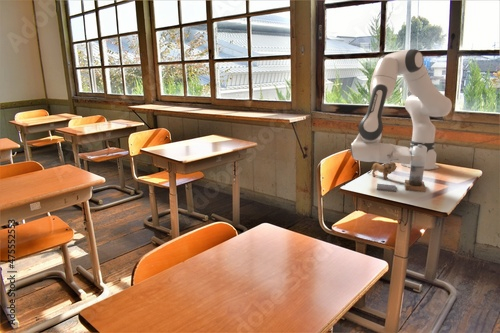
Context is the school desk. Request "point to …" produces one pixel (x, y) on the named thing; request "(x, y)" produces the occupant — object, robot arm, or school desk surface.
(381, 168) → the lion figurine
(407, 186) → the caddy
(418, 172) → the flask
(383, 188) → the coaster
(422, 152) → the white canister
